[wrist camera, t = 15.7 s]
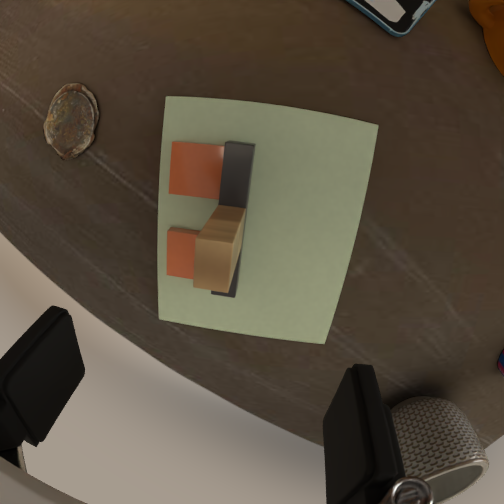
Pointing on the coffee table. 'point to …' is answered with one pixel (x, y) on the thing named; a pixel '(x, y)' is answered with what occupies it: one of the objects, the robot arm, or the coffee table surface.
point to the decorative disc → (71, 121)
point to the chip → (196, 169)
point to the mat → (271, 215)
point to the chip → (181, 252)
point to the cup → (501, 363)
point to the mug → (491, 27)
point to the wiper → (225, 225)
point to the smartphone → (394, 13)
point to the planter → (439, 445)
